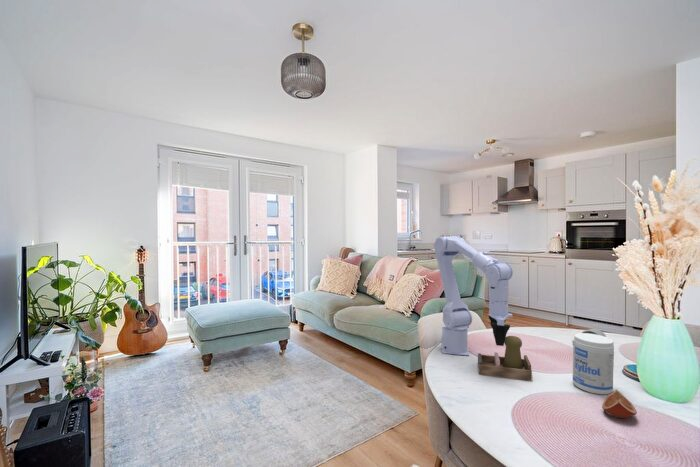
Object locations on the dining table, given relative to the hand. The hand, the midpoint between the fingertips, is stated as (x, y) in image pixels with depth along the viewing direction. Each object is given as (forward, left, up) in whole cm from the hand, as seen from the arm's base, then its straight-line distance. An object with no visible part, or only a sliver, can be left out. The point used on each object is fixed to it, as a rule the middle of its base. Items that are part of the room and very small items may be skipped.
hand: (498, 341), depth 109 cm
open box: (+1, 0, -10) cm, 10 cm away
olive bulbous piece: (+4, 0, -9) cm, 10 cm away
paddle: (0, 0, -9) cm, 9 cm away
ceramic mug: (+35, +34, -10) cm, 50 cm away
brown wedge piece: (+26, -19, -10) cm, 34 cm away
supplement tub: (+25, -4, -10) cm, 27 cm away
